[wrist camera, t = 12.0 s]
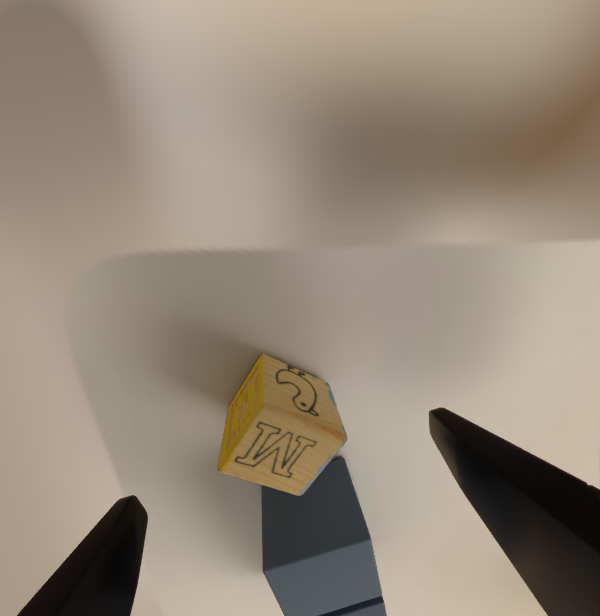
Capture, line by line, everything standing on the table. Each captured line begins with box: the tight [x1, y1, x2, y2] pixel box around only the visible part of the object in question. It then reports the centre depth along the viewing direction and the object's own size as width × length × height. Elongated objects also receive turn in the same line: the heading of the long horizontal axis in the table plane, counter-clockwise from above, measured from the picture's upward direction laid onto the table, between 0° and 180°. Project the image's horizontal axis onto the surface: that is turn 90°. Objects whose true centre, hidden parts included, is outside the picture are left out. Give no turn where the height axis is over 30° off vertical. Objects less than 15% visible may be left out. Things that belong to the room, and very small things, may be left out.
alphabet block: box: [218, 354, 347, 496], centre depth 10 cm, size 3×3×3 cm
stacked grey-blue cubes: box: [261, 458, 387, 616], centre depth 13 cm, size 4×8×4 cm, turn 12°
